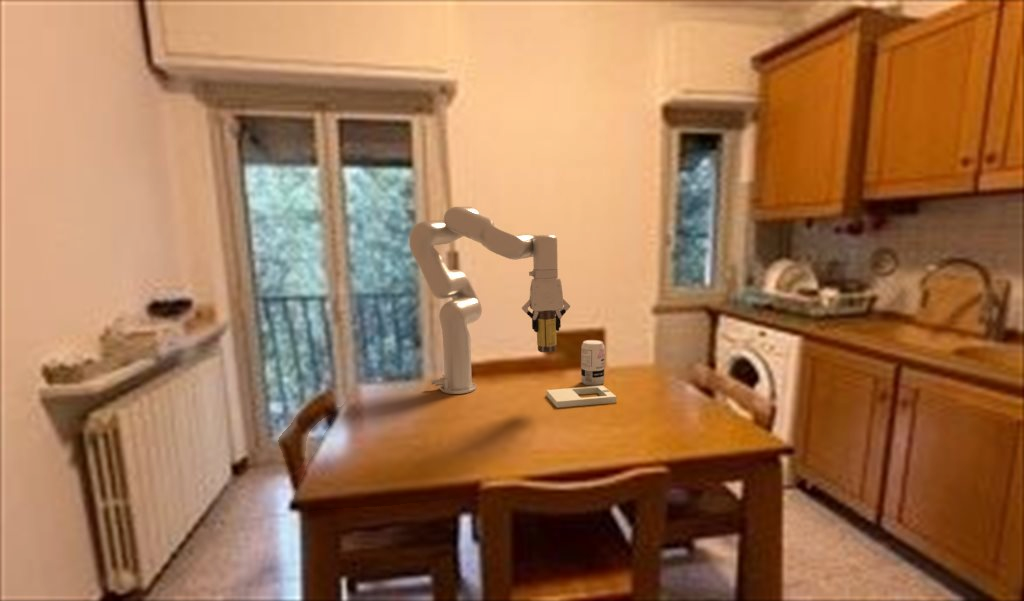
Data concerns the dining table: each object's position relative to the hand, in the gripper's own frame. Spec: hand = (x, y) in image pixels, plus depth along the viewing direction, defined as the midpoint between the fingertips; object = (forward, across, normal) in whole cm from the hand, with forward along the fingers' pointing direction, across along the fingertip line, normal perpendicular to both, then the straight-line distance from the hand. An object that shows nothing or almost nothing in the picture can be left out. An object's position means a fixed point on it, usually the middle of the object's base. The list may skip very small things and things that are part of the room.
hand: (546, 330), depth 179 cm
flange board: (+24, +12, 0) cm, 27 cm away
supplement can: (+24, +21, +17) cm, 36 cm away
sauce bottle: (+7, 0, 0) cm, 7 cm away
